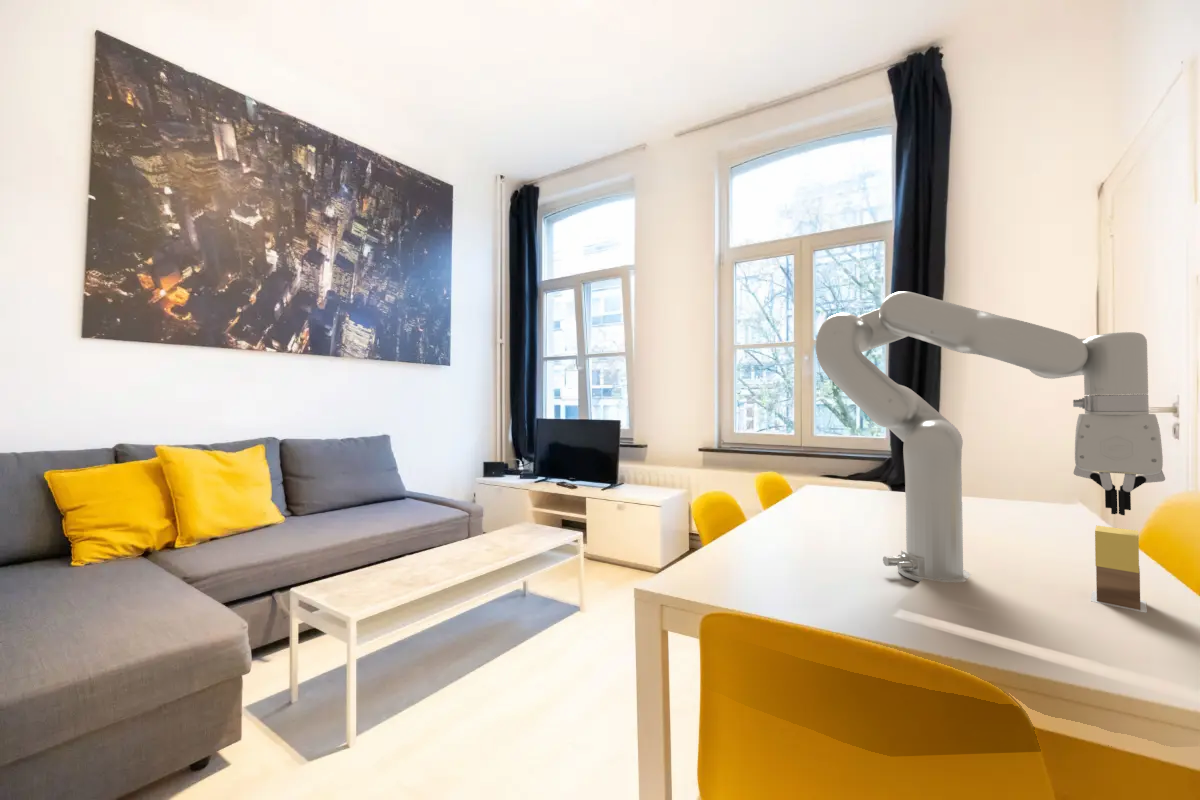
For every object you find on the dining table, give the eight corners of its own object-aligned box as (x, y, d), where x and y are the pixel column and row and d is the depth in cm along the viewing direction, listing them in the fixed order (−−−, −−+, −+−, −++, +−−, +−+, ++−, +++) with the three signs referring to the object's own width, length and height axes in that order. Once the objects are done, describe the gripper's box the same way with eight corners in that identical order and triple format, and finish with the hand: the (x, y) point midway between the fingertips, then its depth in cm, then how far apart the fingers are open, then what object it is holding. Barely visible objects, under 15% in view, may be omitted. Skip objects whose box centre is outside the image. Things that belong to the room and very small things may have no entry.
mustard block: (1139, 573, 80) (1138, 536, 80) (1095, 565, 84) (1095, 530, 84) (1138, 565, 83) (1138, 530, 83) (1096, 559, 87) (1096, 525, 87)
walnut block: (1140, 609, 80) (1139, 573, 80) (1096, 601, 84) (1096, 565, 84) (1139, 601, 83) (1139, 565, 83) (1097, 592, 87) (1097, 559, 87)
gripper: (1053, 406, 86) (1056, 510, 86) (1185, 405, 75) (1188, 525, 75) (1057, 405, 92) (1060, 504, 91) (1181, 405, 81) (1184, 516, 80)
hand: (1118, 513), depth 83 cm, fingers closed
